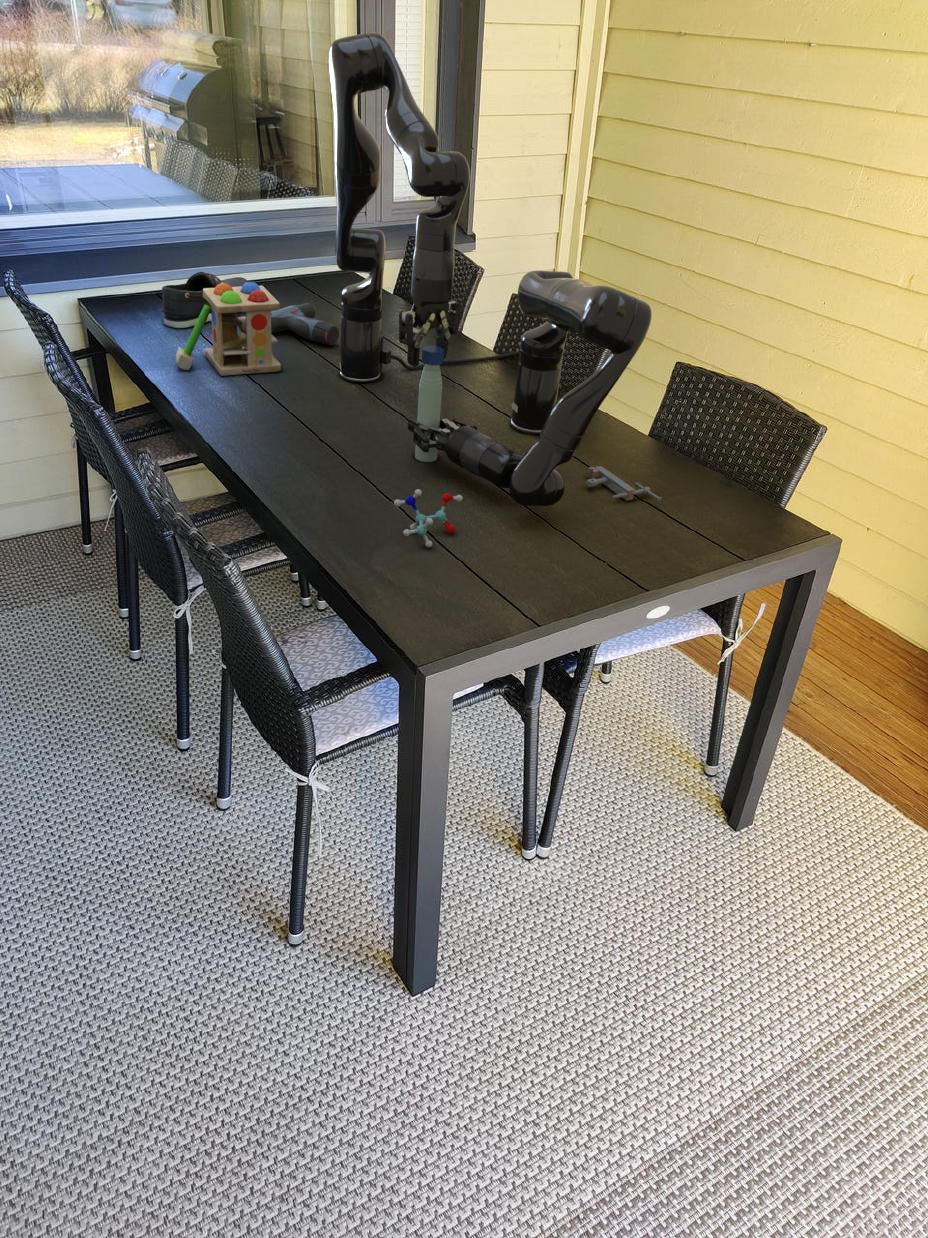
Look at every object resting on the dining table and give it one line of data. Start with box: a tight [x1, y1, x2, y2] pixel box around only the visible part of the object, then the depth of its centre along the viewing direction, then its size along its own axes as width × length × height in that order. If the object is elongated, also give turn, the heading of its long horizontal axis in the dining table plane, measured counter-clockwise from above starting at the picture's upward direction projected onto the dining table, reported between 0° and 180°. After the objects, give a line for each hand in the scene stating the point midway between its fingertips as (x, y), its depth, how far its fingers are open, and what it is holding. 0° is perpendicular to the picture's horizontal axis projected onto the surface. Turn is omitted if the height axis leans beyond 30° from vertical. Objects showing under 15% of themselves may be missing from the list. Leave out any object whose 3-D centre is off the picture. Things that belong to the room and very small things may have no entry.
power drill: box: [271, 302, 340, 346], centre depth 252 cm, size 5×19×20 cm
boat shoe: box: [160, 271, 249, 329], centre depth 258 cm, size 13×33×10 cm, turn 147°
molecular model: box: [393, 488, 464, 548], centre depth 169 cm, size 12×10×10 cm
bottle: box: [414, 363, 443, 463], centre depth 192 cm, size 4×4×22 cm
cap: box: [421, 344, 445, 366], centre depth 186 cm, size 4×4×2 cm
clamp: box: [585, 465, 663, 503], centre depth 191 cm, size 15×2×10 cm
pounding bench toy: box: [174, 281, 282, 377], centre depth 225 cm, size 23×14×18 cm, turn 116°
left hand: (427, 361), depth 186 cm, fingers open, 6 cm apart
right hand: (419, 421), depth 196 cm, fingers closed on bottle, 4 cm apart
